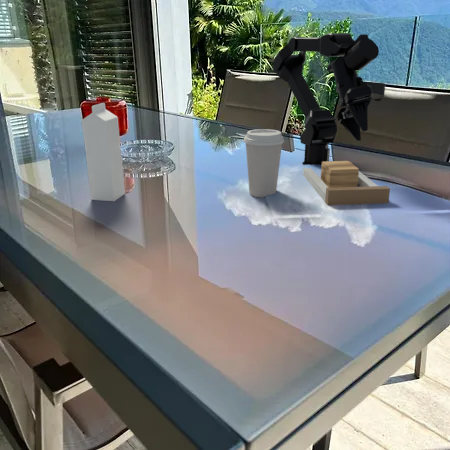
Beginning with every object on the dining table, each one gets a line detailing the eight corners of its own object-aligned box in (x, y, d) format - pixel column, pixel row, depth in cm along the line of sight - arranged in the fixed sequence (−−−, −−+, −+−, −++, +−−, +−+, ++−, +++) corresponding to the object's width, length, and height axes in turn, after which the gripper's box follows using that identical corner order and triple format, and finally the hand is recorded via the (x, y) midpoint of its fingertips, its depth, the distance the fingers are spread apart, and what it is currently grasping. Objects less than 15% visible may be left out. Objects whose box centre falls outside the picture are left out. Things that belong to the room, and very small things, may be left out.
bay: (303, 177, 125) (303, 163, 124) (353, 175, 126) (354, 161, 125) (327, 207, 103) (328, 190, 102) (387, 205, 104) (390, 188, 103)
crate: (320, 180, 121) (321, 161, 119) (346, 179, 121) (348, 160, 119) (328, 189, 113) (330, 169, 111) (357, 188, 114) (359, 169, 112)
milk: (91, 200, 110) (78, 105, 101) (103, 192, 115) (92, 102, 107) (114, 201, 108) (103, 106, 100) (125, 193, 114) (116, 102, 105)
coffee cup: (285, 189, 116) (288, 129, 110) (277, 201, 107) (279, 137, 102) (249, 186, 119) (250, 127, 113) (238, 197, 110) (238, 135, 105)
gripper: (386, 55, 110) (403, 116, 108) (370, 85, 128) (385, 138, 127) (340, 67, 111) (356, 128, 109) (331, 95, 129) (344, 148, 128)
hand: (362, 136), depth 118 cm, fingers open, 9 cm apart
